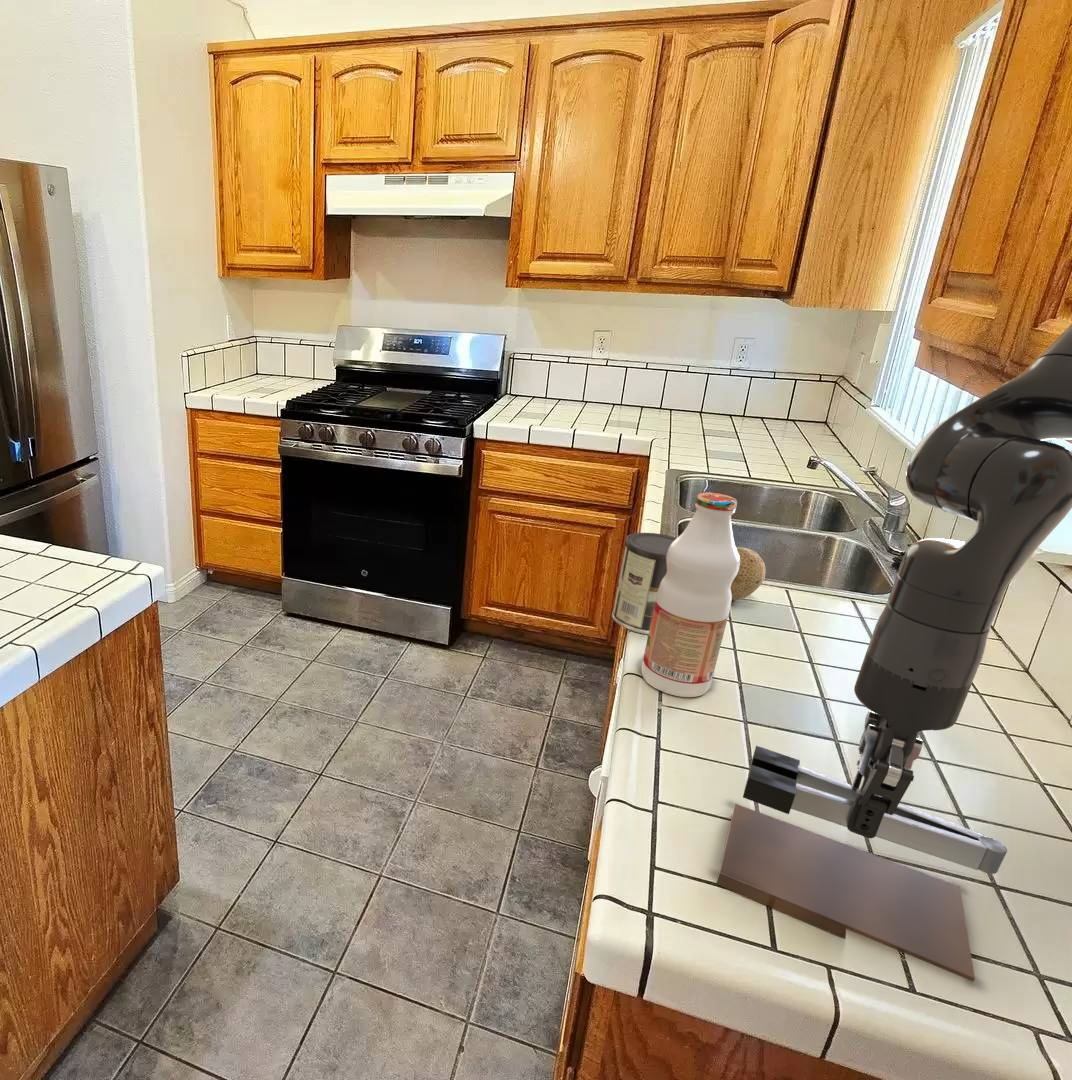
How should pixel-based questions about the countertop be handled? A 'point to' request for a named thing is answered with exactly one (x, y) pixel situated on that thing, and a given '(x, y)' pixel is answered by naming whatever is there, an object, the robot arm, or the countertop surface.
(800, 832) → the board
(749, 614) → the countertop surface
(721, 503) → the fruit juice
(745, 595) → the natural sponge
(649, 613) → the coffee can
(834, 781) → the tongs
